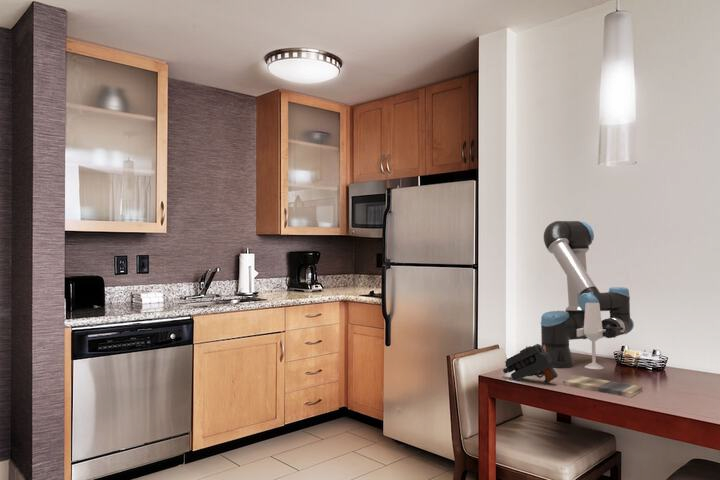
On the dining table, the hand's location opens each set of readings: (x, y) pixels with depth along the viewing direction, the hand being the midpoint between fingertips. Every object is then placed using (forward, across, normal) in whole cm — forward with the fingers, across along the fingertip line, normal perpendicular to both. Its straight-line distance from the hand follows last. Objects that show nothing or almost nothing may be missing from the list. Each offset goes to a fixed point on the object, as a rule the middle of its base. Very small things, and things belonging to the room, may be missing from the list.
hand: (587, 333), depth 190 cm
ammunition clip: (-7, +24, -20) cm, 32 cm away
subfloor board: (-5, -2, -20) cm, 21 cm away
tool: (+4, +22, -20) cm, 30 cm away
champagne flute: (-5, 0, -13) cm, 14 cm away
